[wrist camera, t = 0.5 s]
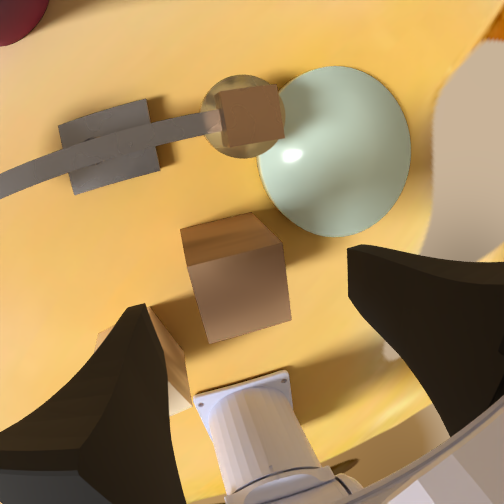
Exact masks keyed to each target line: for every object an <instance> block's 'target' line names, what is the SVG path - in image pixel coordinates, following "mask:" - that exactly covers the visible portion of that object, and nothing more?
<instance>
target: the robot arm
mask: <svg viewBox="0 0 504 504" xmlns="http://www.w3.org/2000/svg"><path fill="white" fill-rule="evenodd" d="M347 262H348V297H349V299H350V300H351V301H352V303H353V304H354V306H355V307H356V309H357V310H358V311H359V313H360V314H361V315H362V317H363V318H364V319H365V320H366V321H367V322H368V323H369V324H370V325H371V326H372V327H373V328H374V329H375V330H376V331H377V332H378V333H379V334H380V335H381V336H382V337H383V338H384V340H385V341H386V342H387V343H388V344H389V345H390V346H391V347H392V348H393V349H394V350H395V351H396V352H397V353H398V354H399V355H400V356H401V358H402V359H403V360H404V361H405V363H406V364H407V365H408V367H409V368H410V369H411V371H412V372H413V373H414V375H415V376H416V378H417V379H418V381H419V382H420V384H421V385H422V387H423V388H424V390H425V391H426V393H427V394H428V396H429V398H430V399H431V401H432V403H433V404H434V406H435V408H436V410H437V411H438V413H439V415H440V417H441V419H442V421H443V423H444V425H445V427H446V429H447V431H448V433H449V435H450V438H449V439H448V440H446V441H445V442H443V443H442V444H440V445H439V446H437V447H436V448H434V449H433V450H431V451H430V452H428V453H426V454H425V455H423V456H422V457H420V458H419V459H417V460H415V461H414V462H412V463H410V464H408V465H407V466H405V467H403V468H401V469H400V470H398V471H396V472H395V473H392V474H391V475H389V476H387V477H385V478H384V479H381V480H379V481H377V482H375V483H373V484H371V485H369V486H367V487H365V488H363V487H362V485H361V484H360V483H359V482H358V481H357V480H355V479H354V478H352V477H349V476H347V475H345V474H343V473H340V474H337V475H335V476H334V474H333V472H332V470H331V469H330V467H329V466H325V467H322V466H321V464H320V462H319V460H318V459H317V457H316V455H315V453H314V451H313V449H312V447H311V445H310V443H309V441H308V439H307V437H306V435H305V433H304V431H303V429H302V427H301V425H300V423H299V421H298V419H297V417H296V415H295V414H294V412H293V403H292V395H291V387H290V379H289V374H288V372H287V371H286V370H281V371H278V372H274V373H271V374H268V375H265V376H262V377H258V378H255V379H252V380H248V381H245V382H241V383H238V384H234V385H231V386H227V387H223V388H220V389H216V390H212V391H208V392H204V393H200V394H197V395H195V396H194V397H193V402H194V404H195V406H196V409H197V411H198V413H199V415H200V417H201V419H202V421H203V424H204V426H205V428H206V430H207V432H208V434H209V436H210V438H211V440H212V442H213V444H214V448H215V452H216V456H217V460H218V464H219V467H220V471H221V475H222V479H223V482H224V486H225V489H226V493H227V496H225V497H224V499H225V502H226V504H504V262H462V261H453V260H444V259H437V258H431V257H426V256H421V255H416V254H411V253H406V252H402V251H397V250H393V249H388V248H383V247H378V246H372V245H362V244H361V245H358V246H354V247H351V248H347ZM283 379H284V380H283ZM0 502H1V503H2V504H186V500H185V497H184V493H183V490H182V486H181V482H180V478H179V474H178V470H177V466H176V461H175V456H174V451H173V446H172V441H171V433H170V419H169V396H168V374H167V368H166V362H165V356H164V350H163V348H162V346H161V343H160V341H159V338H158V336H157V333H156V331H155V328H154V326H153V323H152V320H151V318H150V315H149V313H148V310H147V307H146V304H145V303H144V304H140V305H136V306H132V307H128V308H127V309H126V310H125V312H124V313H123V314H122V316H121V317H120V318H119V320H118V321H117V323H116V324H115V326H114V327H113V328H112V330H111V331H110V333H109V334H108V335H107V337H106V338H105V340H104V341H103V342H102V344H101V345H100V346H99V347H98V349H97V350H96V351H95V353H94V354H93V355H92V356H91V358H90V359H89V360H88V361H87V363H86V364H85V365H84V366H83V367H82V368H81V369H80V371H79V372H78V373H77V374H76V375H75V376H74V377H73V378H72V379H71V380H70V381H69V382H68V383H67V384H66V385H65V386H64V387H62V388H61V389H60V390H59V391H58V392H57V393H56V394H54V395H53V396H52V397H51V398H50V399H49V400H48V401H46V402H45V403H44V404H43V405H41V406H40V407H39V408H37V409H36V410H35V411H33V412H32V413H31V414H29V415H28V416H26V417H25V418H23V419H22V420H20V421H19V422H17V423H15V424H14V425H12V426H10V427H9V428H7V429H5V430H3V431H2V432H0Z"/></svg>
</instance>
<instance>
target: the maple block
mask: <svg viewBox="0 0 504 504" xmlns="http://www.w3.org/2000/svg"><path fill="white" fill-rule="evenodd" d="M147 310H148V313H149V315H150V318H151V320H152V323H153V326H154V328H155V331H156V333H157V336H158V338H159V341H160V343H161V346H162V348H163V350H164V356H165V362H166V368H167V374H168V396H169V416H172V415H174V414H177V413H179V412H181V411H184V410H186V409H188V408H191V407H193V406H192V400H191V395H190V389H189V383H188V377H187V371H186V365H185V358H184V352H183V350H182V349H181V347H180V346H179V345H178V344H177V342H176V341H175V340H174V338H173V337H172V336H171V334H170V333H169V332H168V331H167V329H166V328H165V327H164V325H163V324H162V323H161V321H160V320H159V319H158V317H157V316H156V315H155V313H154V312H153V310H152V309H151V308H150V306H149V307H147ZM114 326H115V325H114ZM114 326H112V327H110V328H108V329H106V330H104V331H102V332H101V333H99V334H98V337H97V341H96V346H95V350H94V353H95V351H96V350H97V349H98V347H99V346H100V345H101V344H102V342H103V341H104V340H105V338H106V337H107V335H108V334H109V333H110V331H111V330H112V328H113V327H114Z"/></svg>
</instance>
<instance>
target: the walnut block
mask: <svg viewBox="0 0 504 504" xmlns="http://www.w3.org/2000/svg"><path fill="white" fill-rule="evenodd" d="M180 232H181V237H182V243H183V248H184V254H185V259H186V264H187V269H188V272H189V276H190V280H191V283H192V287H193V290H194V294H195V297H196V301H197V304H198V308H199V311H200V315H201V318H202V321H203V325H204V328H205V331H206V335H207V338H208V341H209V344H211V343H215V342H218V341H222V340H226V339H229V338H233V337H237V336H240V335H244V334H247V333H251V332H254V331H257V330H261V329H264V328H268V327H271V326H274V325H277V324H281V323H284V322H287V321H290V320H292V319H291V310H290V301H289V293H288V284H287V276H286V268H285V260H284V252H283V244H282V242H281V241H280V240H279V239H278V238H277V237H276V236H275V235H274V234H273V233H272V232H271V231H270V230H269V229H268V228H267V227H266V226H265V225H264V224H263V223H262V222H261V221H260V220H259V219H258V218H257V217H256V216H255V215H254V214H253V213H252V212H250V213H246V214H242V215H237V216H233V217H229V218H225V219H220V220H216V221H212V222H208V223H204V224H200V225H196V226H192V227H188V228H184V229H180Z"/></svg>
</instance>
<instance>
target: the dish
mask: <svg viewBox="0 0 504 504" xmlns="http://www.w3.org/2000/svg"><path fill="white" fill-rule="evenodd" d="M278 94H279V95H280V97H281V99H282V101H283V104H284V108H285V126H284V135H285V138H284V139H279V140H278V141H277V142H276V144H275V145H274V146H273V147H272V148H271V149H269V150H268V151H267V152H265V153H263V154H261V155H259V156H256V159H257V167H258V171H259V176H260V179H261V181H262V184H263V187H264V189H265V191H266V193H267V195H268V197H269V198H270V200H271V201H272V202H273V204H274V205H275V207H276V208H277V209H278V210H279V211H280V212H281V213H282V214H283V215H284V216H286V217H287V218H288V219H289V220H291V221H292V222H293V223H295V224H296V225H297V226H299V227H301V228H302V229H304V230H306V231H309V232H311V233H313V234H317V235H321V236H326V237H344V236H349V235H353V234H356V233H359V232H361V231H363V230H365V229H367V228H369V227H371V226H372V225H374V224H375V223H377V222H378V221H379V220H380V219H381V218H383V217H384V216H385V215H386V214H387V213H388V211H389V210H390V209H391V208H392V207H393V205H394V204H395V202H396V201H397V199H398V197H399V196H400V194H401V192H402V190H403V187H404V185H405V182H406V179H407V176H408V172H409V167H410V159H411V142H410V134H409V130H408V125H407V122H406V119H405V117H404V114H403V112H402V110H401V108H400V106H399V104H398V103H397V101H396V99H395V98H394V97H393V95H392V94H391V93H390V92H389V90H388V89H387V88H385V87H384V86H383V85H382V84H381V83H380V82H379V81H377V80H376V79H375V78H373V77H372V76H370V75H368V74H366V73H364V72H362V71H359V70H356V69H353V68H348V67H341V66H331V67H323V68H319V69H315V70H312V71H308V72H306V73H304V74H301V75H299V76H297V77H295V78H294V79H292V80H291V81H289V82H288V83H287V84H285V85H284V86H283V87H282V88H281V89H280V90H279V91H278Z"/></svg>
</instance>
